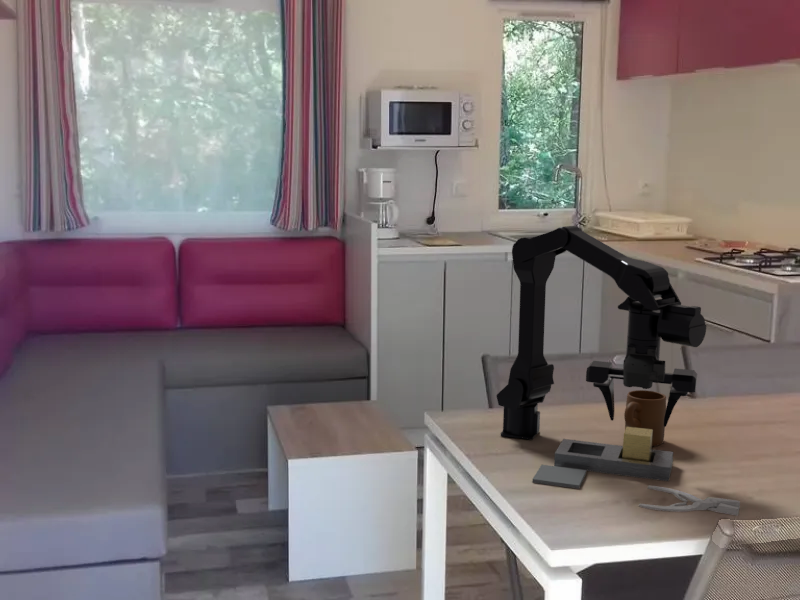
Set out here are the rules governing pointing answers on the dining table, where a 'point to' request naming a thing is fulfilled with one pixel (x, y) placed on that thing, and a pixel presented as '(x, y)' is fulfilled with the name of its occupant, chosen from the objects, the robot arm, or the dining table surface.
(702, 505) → the pliers
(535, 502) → the dining table surface
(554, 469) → the pad
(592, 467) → the grey flat frame
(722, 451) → the dining table surface
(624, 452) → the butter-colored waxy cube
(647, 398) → the mug
